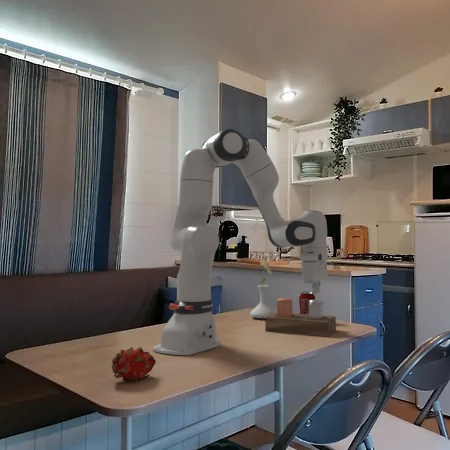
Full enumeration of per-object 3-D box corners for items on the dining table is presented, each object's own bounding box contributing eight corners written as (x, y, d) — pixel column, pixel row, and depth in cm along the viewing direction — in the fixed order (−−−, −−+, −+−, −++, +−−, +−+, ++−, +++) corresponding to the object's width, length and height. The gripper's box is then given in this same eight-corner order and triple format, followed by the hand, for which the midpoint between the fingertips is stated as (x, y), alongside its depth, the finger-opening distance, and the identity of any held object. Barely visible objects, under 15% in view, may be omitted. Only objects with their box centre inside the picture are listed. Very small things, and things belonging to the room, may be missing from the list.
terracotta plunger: (289, 319, 163) (289, 300, 163) (276, 318, 166) (275, 299, 166) (293, 317, 168) (293, 298, 168) (280, 316, 170) (280, 297, 170)
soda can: (317, 323, 178) (316, 293, 178) (300, 323, 178) (299, 293, 178) (314, 320, 184) (313, 291, 185) (297, 320, 185) (297, 291, 185)
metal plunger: (321, 321, 158) (321, 301, 158) (307, 320, 160) (307, 301, 160) (325, 319, 162) (325, 300, 163) (311, 318, 165) (311, 299, 165)
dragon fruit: (106, 390, 105) (151, 387, 112) (121, 375, 100) (167, 373, 107) (102, 356, 110) (145, 355, 117) (116, 340, 105) (160, 340, 112)
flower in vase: (274, 320, 184) (273, 260, 185) (247, 319, 187) (247, 260, 188) (278, 315, 197) (277, 259, 198) (253, 314, 200) (252, 259, 201)
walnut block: (327, 336, 153) (327, 321, 153) (265, 331, 164) (265, 317, 164) (335, 330, 164) (335, 316, 164) (277, 325, 174) (276, 312, 175)
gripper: (314, 254, 173) (315, 289, 172) (298, 256, 155) (299, 296, 154) (331, 254, 170) (332, 290, 169) (316, 256, 152) (317, 297, 151)
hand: (316, 293), depth 162 cm, fingers closed
